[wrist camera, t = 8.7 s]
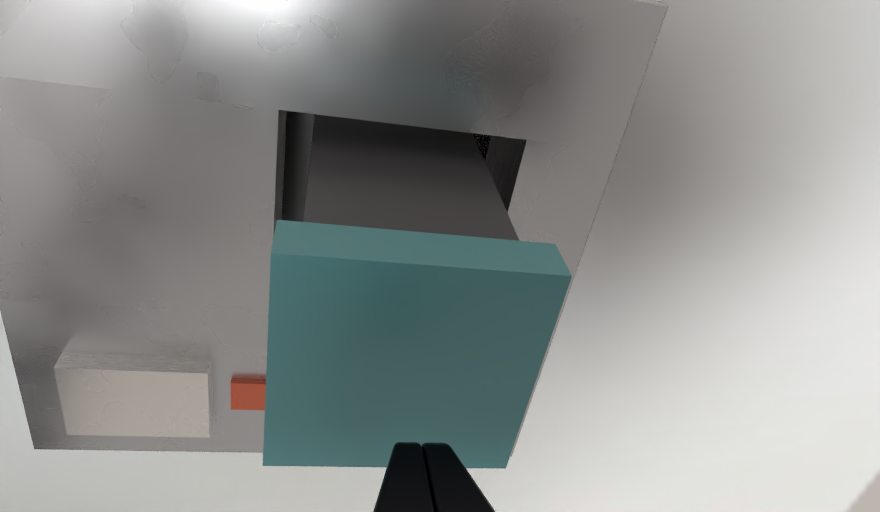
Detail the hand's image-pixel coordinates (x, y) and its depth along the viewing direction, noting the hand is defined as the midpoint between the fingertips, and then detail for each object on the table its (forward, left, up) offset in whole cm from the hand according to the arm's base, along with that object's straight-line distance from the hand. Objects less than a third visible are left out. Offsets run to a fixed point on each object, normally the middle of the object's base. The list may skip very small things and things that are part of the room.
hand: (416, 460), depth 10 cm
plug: (0, 0, -10) cm, 10 cm away
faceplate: (-1, +2, -10) cm, 10 cm away
